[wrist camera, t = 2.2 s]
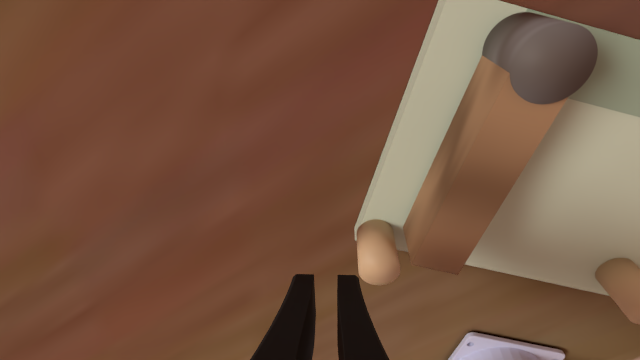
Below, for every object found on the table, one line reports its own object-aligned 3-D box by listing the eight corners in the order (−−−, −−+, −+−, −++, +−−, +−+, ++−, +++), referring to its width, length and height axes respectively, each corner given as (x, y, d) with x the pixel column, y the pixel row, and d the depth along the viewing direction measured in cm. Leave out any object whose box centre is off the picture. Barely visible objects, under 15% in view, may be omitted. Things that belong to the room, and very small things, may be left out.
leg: (501, 4, 15) (538, 13, 12) (565, 22, 15) (616, 35, 12) (400, 226, 21) (409, 267, 18) (446, 237, 21) (461, 278, 18)
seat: (607, 287, 24) (653, 343, 21) (351, 231, 23) (353, 280, 19) (800, 85, 17) (922, 118, 14) (442, -16, 16) (471, -9, 12)
